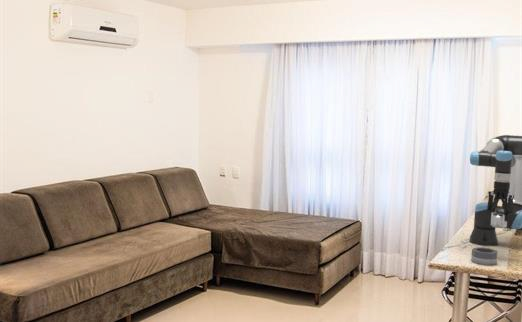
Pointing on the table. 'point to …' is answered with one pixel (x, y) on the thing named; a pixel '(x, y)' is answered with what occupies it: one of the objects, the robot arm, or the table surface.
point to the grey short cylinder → (484, 256)
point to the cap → (497, 220)
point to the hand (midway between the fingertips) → (498, 225)
